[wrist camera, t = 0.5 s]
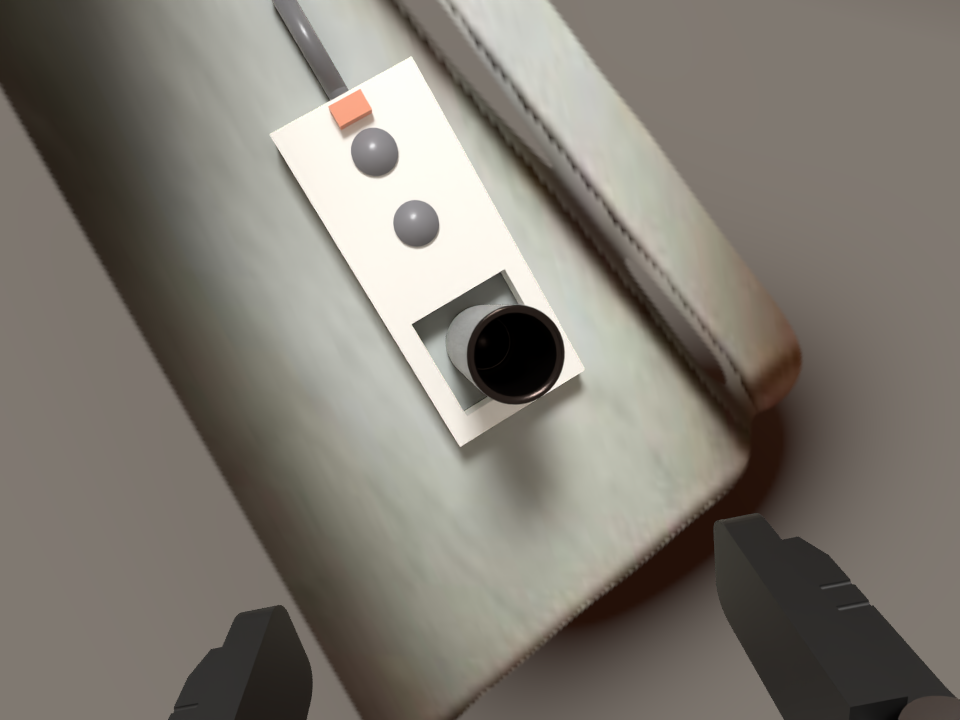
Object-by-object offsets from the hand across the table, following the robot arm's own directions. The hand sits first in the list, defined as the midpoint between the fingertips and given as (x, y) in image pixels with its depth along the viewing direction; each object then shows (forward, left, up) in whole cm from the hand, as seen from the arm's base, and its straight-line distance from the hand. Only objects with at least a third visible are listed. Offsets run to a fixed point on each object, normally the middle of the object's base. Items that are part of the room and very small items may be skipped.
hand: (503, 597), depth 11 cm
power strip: (-10, +5, -25) cm, 28 cm away
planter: (-1, +5, -25) cm, 26 cm away
